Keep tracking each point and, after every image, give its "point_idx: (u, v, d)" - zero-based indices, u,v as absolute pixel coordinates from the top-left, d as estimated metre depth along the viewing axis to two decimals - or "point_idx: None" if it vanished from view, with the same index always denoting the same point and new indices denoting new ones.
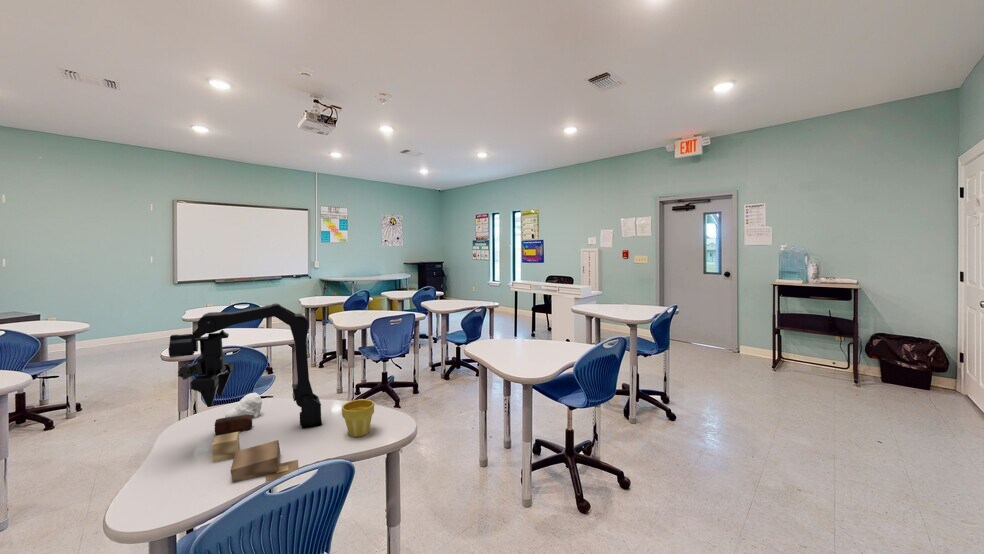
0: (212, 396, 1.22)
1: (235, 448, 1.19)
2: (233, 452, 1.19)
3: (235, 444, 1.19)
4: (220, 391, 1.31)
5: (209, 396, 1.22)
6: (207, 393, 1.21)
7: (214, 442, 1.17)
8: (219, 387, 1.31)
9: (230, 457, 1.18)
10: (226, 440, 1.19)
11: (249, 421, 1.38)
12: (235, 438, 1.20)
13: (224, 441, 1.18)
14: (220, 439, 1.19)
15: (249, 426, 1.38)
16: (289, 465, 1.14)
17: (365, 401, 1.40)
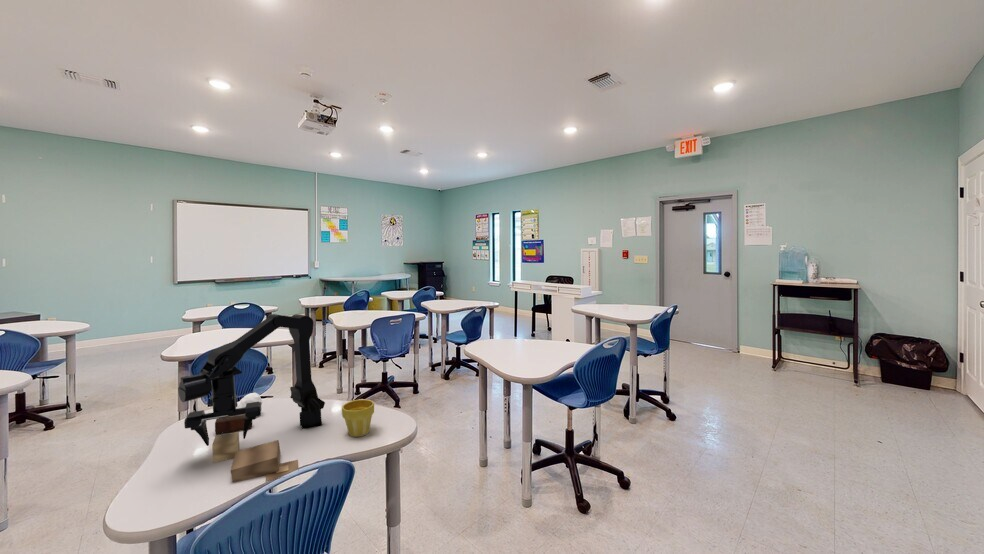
0: None
1: (235, 448, 1.19)
2: (233, 452, 1.19)
3: (235, 444, 1.19)
4: None
5: None
6: None
7: (214, 442, 1.17)
8: None
9: (230, 457, 1.18)
10: (226, 440, 1.19)
11: None
12: (235, 438, 1.20)
13: (224, 441, 1.18)
14: (220, 439, 1.19)
15: (249, 425, 1.38)
16: (289, 465, 1.14)
17: (365, 401, 1.40)
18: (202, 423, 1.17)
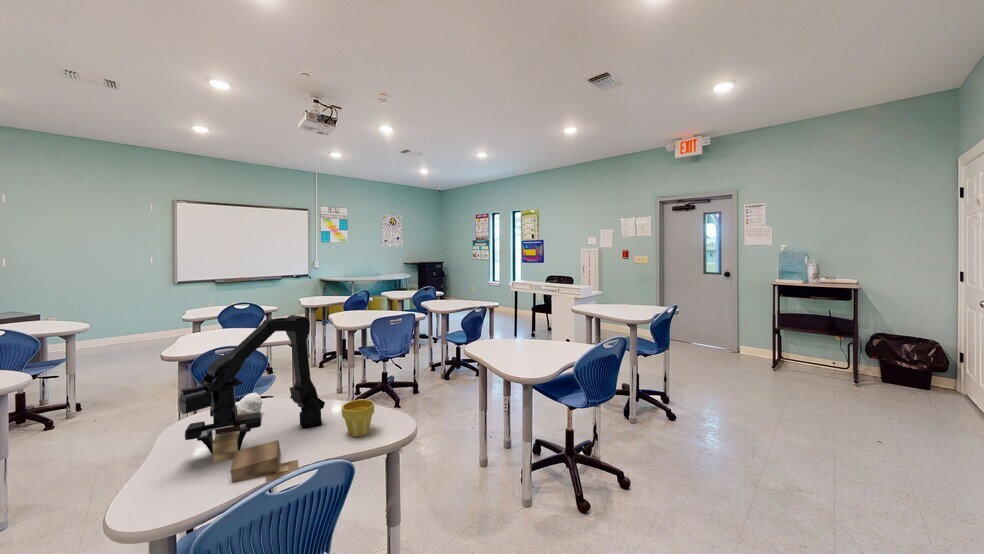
0: None
1: (235, 448, 1.19)
2: (233, 452, 1.19)
3: (235, 444, 1.19)
4: None
5: None
6: None
7: (214, 442, 1.17)
8: None
9: (230, 457, 1.18)
10: (226, 439, 1.19)
11: None
12: (235, 438, 1.20)
13: (224, 441, 1.18)
14: (220, 439, 1.19)
15: None
16: (289, 465, 1.14)
17: (365, 401, 1.40)
18: (208, 433, 1.17)
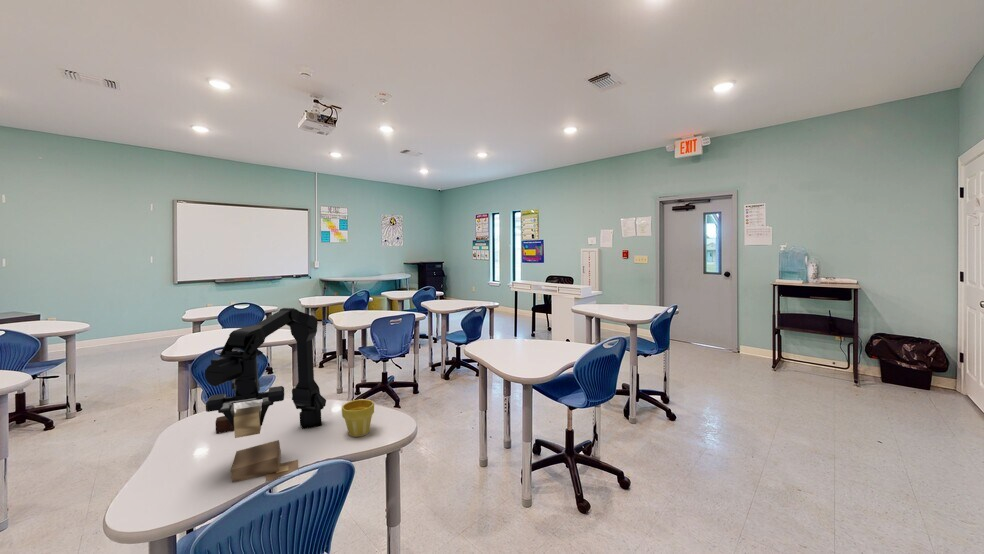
0: None
1: (257, 422, 1.13)
2: (255, 426, 1.13)
3: (257, 417, 1.13)
4: None
5: None
6: None
7: (236, 415, 1.11)
8: None
9: (252, 431, 1.12)
10: (248, 413, 1.13)
11: None
12: (257, 411, 1.14)
13: (246, 414, 1.12)
14: (242, 412, 1.13)
15: None
16: (289, 465, 1.14)
17: (365, 401, 1.40)
18: (230, 406, 1.12)
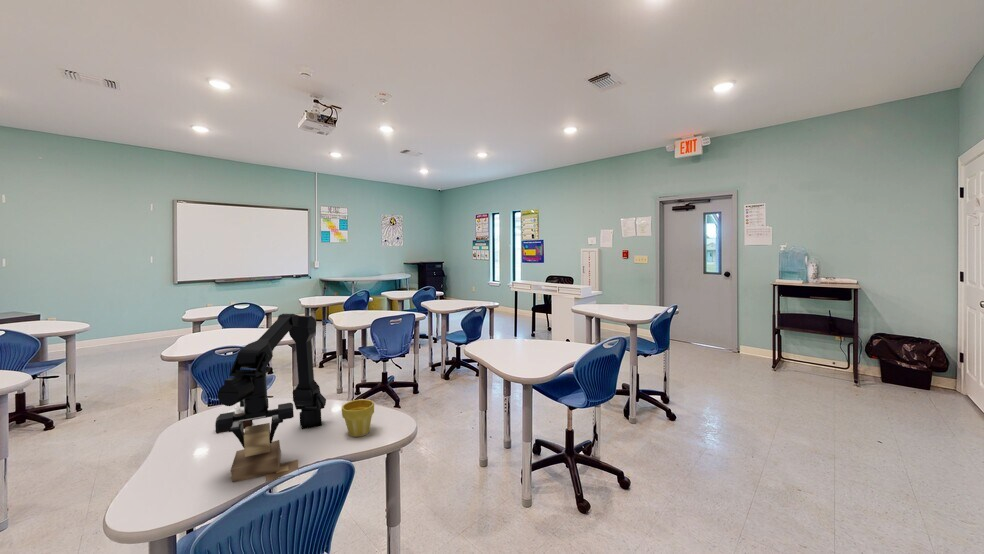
0: None
1: (267, 440, 1.12)
2: (265, 444, 1.12)
3: (267, 436, 1.12)
4: (270, 438, 1.15)
5: None
6: None
7: (245, 433, 1.10)
8: None
9: (262, 449, 1.11)
10: (258, 431, 1.12)
11: None
12: (267, 429, 1.13)
13: (256, 432, 1.11)
14: (251, 431, 1.12)
15: (250, 423, 1.40)
16: (289, 465, 1.14)
17: (365, 401, 1.40)
18: (239, 424, 1.11)
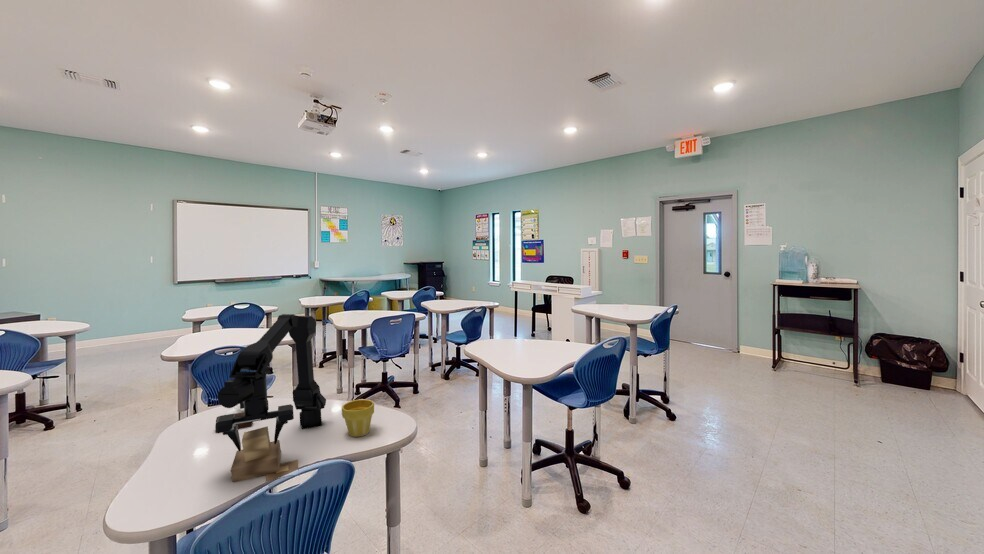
0: None
1: (266, 443, 1.12)
2: (264, 448, 1.12)
3: (266, 439, 1.12)
4: None
5: None
6: None
7: (243, 439, 1.10)
8: None
9: (262, 453, 1.11)
10: (256, 435, 1.12)
11: None
12: (265, 433, 1.12)
13: (254, 437, 1.11)
14: (249, 436, 1.12)
15: (250, 423, 1.40)
16: (289, 465, 1.14)
17: (365, 401, 1.40)
18: (234, 427, 1.10)
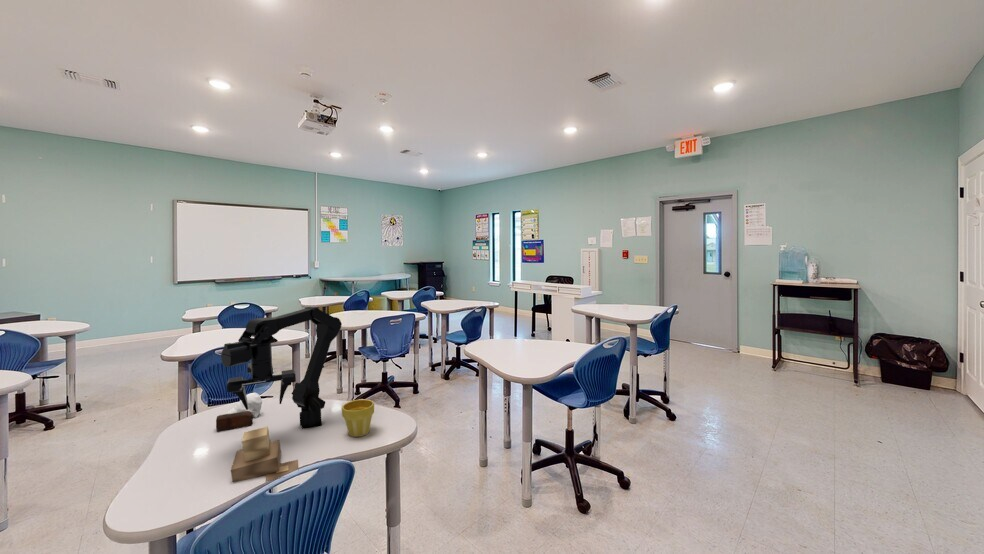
0: None
1: (266, 443, 1.12)
2: (264, 448, 1.12)
3: (266, 439, 1.12)
4: (280, 399, 1.29)
5: None
6: None
7: (243, 439, 1.10)
8: None
9: (262, 453, 1.11)
10: (256, 435, 1.12)
11: (250, 417, 1.41)
12: (265, 433, 1.13)
13: (254, 437, 1.11)
14: (249, 436, 1.12)
15: (250, 422, 1.41)
16: (289, 465, 1.14)
17: (365, 401, 1.40)
18: (242, 388, 1.24)
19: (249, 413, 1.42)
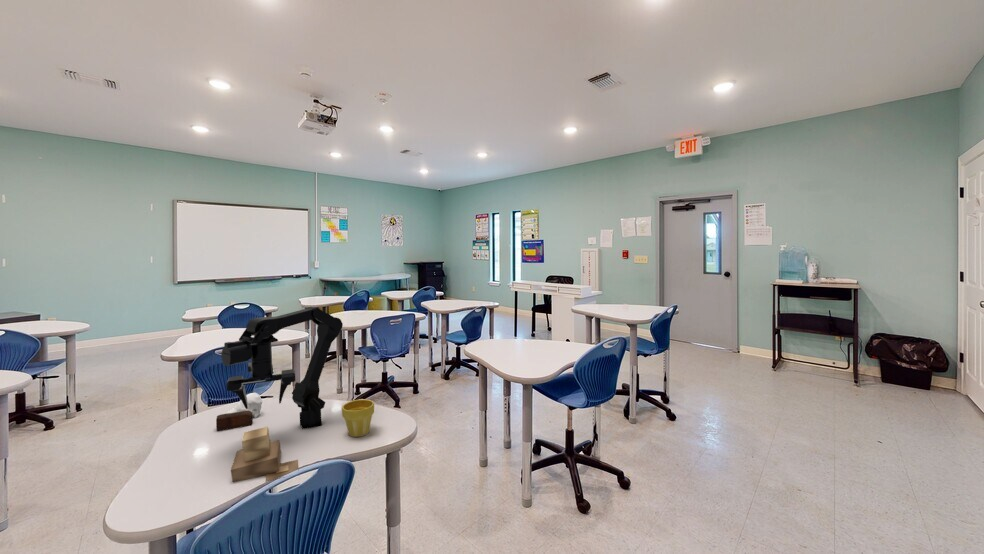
0: None
1: (266, 443, 1.12)
2: (264, 448, 1.12)
3: (266, 439, 1.12)
4: None
5: None
6: None
7: (243, 439, 1.10)
8: (279, 394, 1.29)
9: (262, 453, 1.11)
10: (256, 435, 1.12)
11: (250, 417, 1.41)
12: (265, 433, 1.12)
13: (254, 437, 1.11)
14: (249, 435, 1.12)
15: (250, 421, 1.41)
16: (289, 465, 1.14)
17: (365, 401, 1.40)
18: (242, 387, 1.24)
19: (249, 412, 1.42)
